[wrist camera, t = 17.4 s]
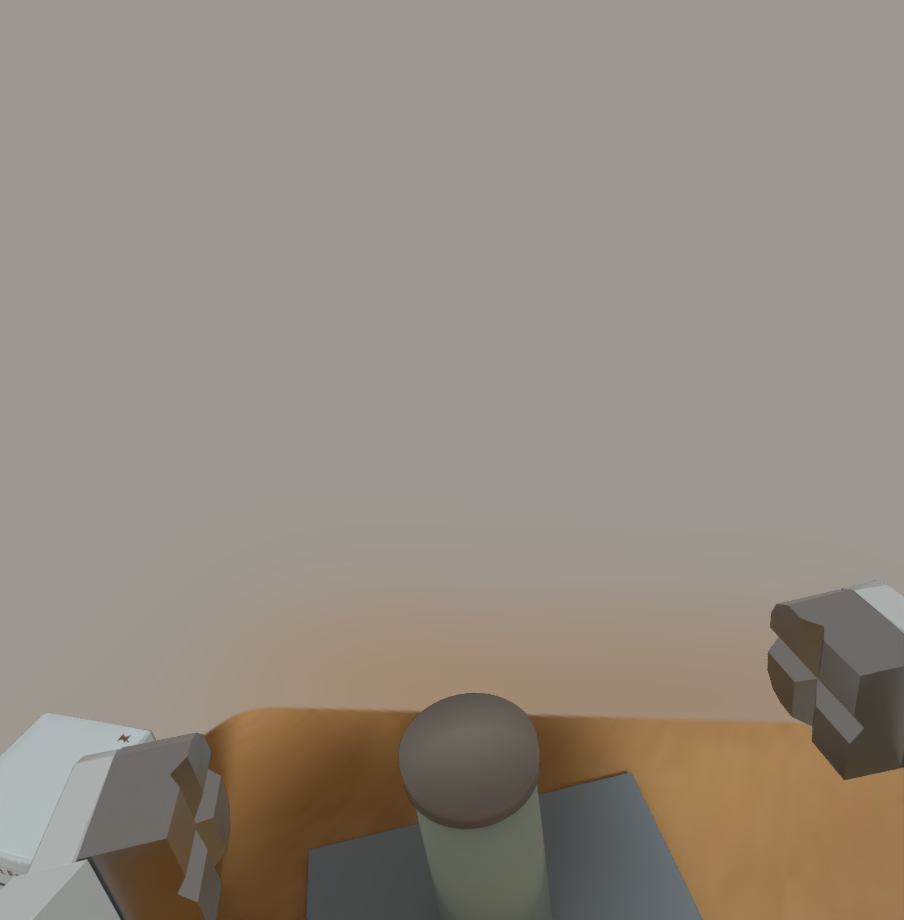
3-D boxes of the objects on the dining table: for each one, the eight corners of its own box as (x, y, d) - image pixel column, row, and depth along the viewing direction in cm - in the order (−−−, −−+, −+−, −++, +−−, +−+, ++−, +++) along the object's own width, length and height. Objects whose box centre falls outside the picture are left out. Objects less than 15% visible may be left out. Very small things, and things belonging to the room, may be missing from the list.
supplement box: (126, 857, 42) (47, 705, 37) (225, 884, 40) (156, 726, 34) (26, 987, 36) (-86, 828, 31) (137, 1029, 33) (35, 864, 28)
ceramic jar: (450, 1011, 32) (404, 824, 26) (434, 886, 37) (393, 708, 31) (574, 980, 32) (555, 789, 27) (540, 860, 38) (519, 681, 32)
